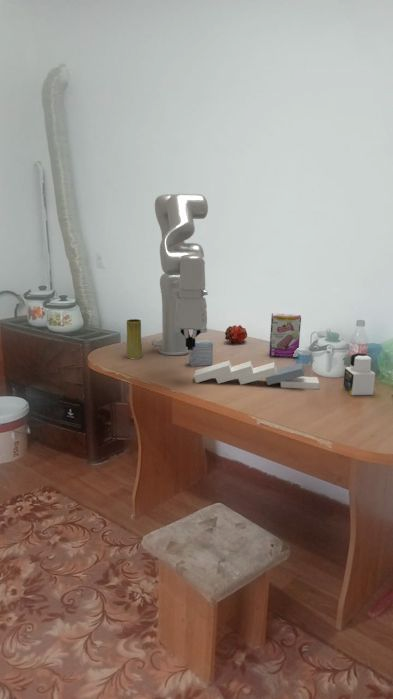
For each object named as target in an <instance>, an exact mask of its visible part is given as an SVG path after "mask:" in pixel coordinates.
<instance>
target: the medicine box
mask: <svg viewBox="0 0 393 699" xmlns="http://www.w3.org/2000/svg"><path fill="white" fill-rule="evenodd" d="M213 348H214V343H213V342H212V341H211V339H210V340H209V339H201V340H200V339H199V340H195V347H193V350H189V353H188V364H189V365H190V366H191V367H192V368H193V367H204V366H205V367H207V366H212V365H213V356H214V355H213V352H214V351H213V350H214V349H213Z"/></svg>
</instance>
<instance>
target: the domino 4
mask: <svg viewBox="0 0 393 699" xmlns="http://www.w3.org/2000/svg"><path fill="white" fill-rule="evenodd" d="M305 370H306V369H305V367H304V363H303V362H301V363H295V364H293V365H288V366H285V367H281V368H276V375H274V376H270V377H267V378H264V380H265V381H266V384H267V385H268V386H270V385H273V384H274V385H275V384H278V383H280V382H282V381H286V380H290V379H294V378H298V377H305Z"/></svg>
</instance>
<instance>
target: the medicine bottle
mask: <svg viewBox="0 0 393 699" xmlns="http://www.w3.org/2000/svg"><path fill="white" fill-rule="evenodd" d="M371 368H372V356H370V355H368V354H366V353H358V352H357V353H354V354H351V357H350V364H349V366H346V367H345V368H344V374H343V375H344V376H343V389H344V390H345V391H346V392H347V393H348V394H349V395H350V396H373V395H374V391H375V390H374V388H375V383H376V382H375V381H376V380H375V379H376V372H374V371H373V370H371Z"/></svg>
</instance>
